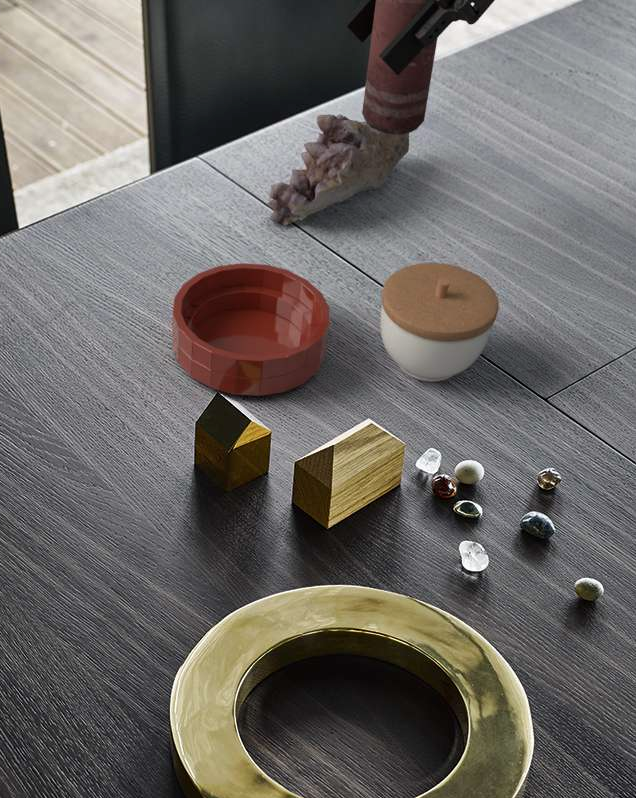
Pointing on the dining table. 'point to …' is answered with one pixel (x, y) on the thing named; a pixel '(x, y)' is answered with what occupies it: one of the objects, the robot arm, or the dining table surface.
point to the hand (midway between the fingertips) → (370, 48)
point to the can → (387, 92)
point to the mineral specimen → (337, 167)
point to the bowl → (250, 329)
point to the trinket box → (436, 319)
